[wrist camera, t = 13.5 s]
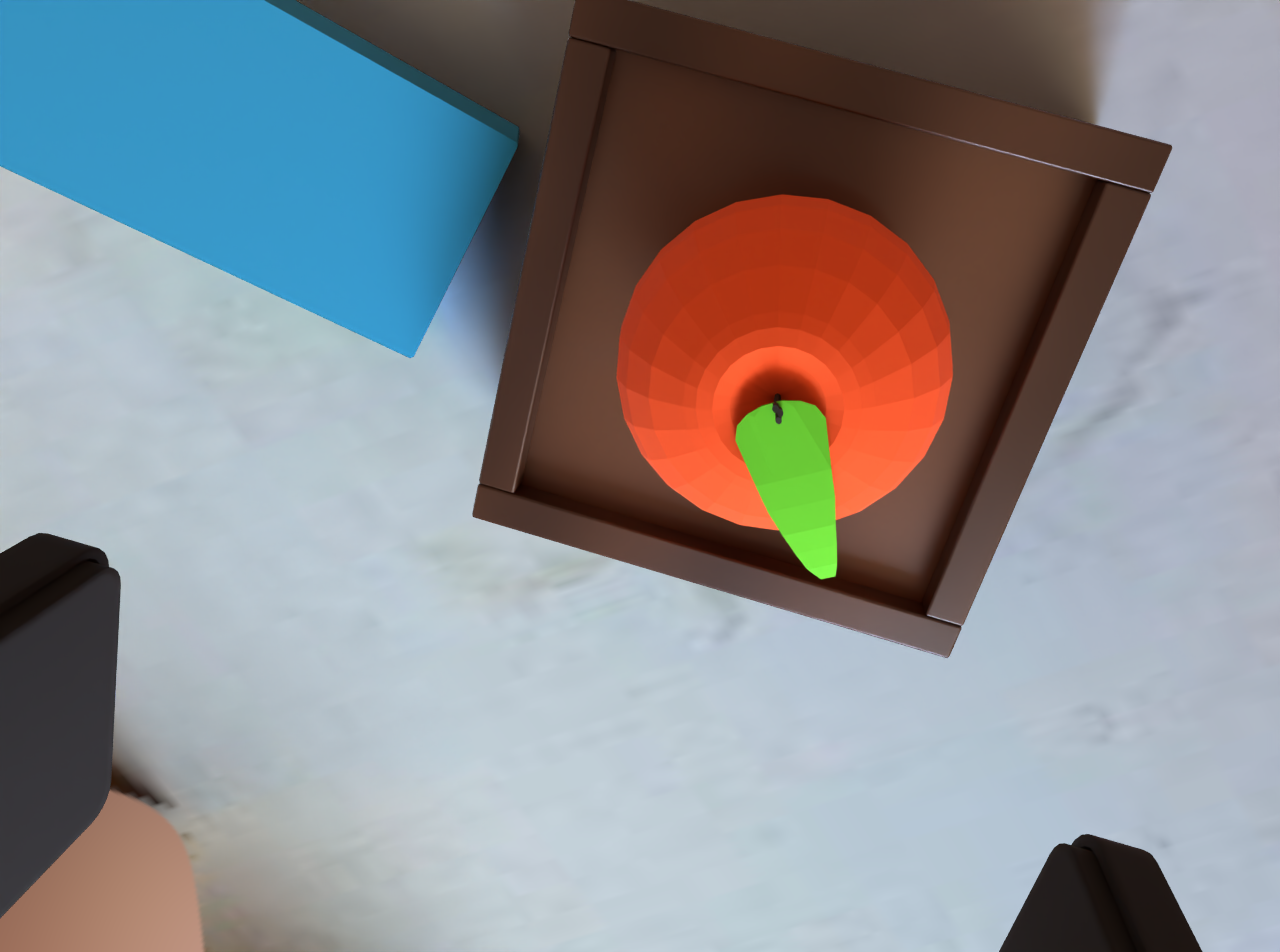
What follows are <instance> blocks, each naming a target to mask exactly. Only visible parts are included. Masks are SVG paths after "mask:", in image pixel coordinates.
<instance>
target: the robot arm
mask: <svg viewBox="0 0 1280 952" xmlns="http://www.w3.org/2000/svg"><path fill="white" fill-rule="evenodd" d="M120 589H121V582H120V576H119V573H118V571H116V570H115V569H114V568H111V567H109V564H108V559H107V557H106V554H105V553H104V552H103V551H102V550H100V549H99V548H96V547H92V546H89V545H85V544H82V543H78V542H75V541H72V540H68V539H65V538H61V537H58V536H54V535H51V534H46V533H38V534H36V535H33V536H30V537H28V538H27V539H25V540H23V541H21V542H19V543H18V544H16V545H14V546H12V547H11V548H9V549H7V550H5V551H4V552H2V553H0V918H1V917H2V916H3V915H4V914H5V913H6V912H7V911H8V910H9V909H10V908H11V906H12V905H14V904H15V902H16V901H17V900H18V899H19V898H20V897H21V896H22V895H23V894H24V893H25V892H26V891H27V890H28V889H29V888H30V887H31V886H32V885H33V884H34V883H35V882H36V881H37V880H38V879H39V878H40V876H41V875H42V874H43V873H44V872H45V871H46V870H47V869H48V868H49V867H50V866H51V865H52V864H53V863H54V862H55V861H56V860H57V859H58V858H59V857H60V856H61V855H62V854H63V853H64V852H65V850H66V849H67V848H68V847H69V846H70V845H71V844H72V843H73V842H74V841H75V840H76V839H77V838H78V837H79V836H80V835H81V834H82V833H83V832H84V831H85V830H86V829H87V828H88V827H89V826H90V824H91V823H92V822H93V821H94V820H95V818H96V817H97V816H98V814H99V813H100V811H101V809H102V808H103V806H104V804H105V801H106V799H107V796H108V793H109V790H110V785H111V771H112V751H113V731H114V710H115V690H116V670H117V650H118V629H119V609H120ZM999 952H1202V950H1201V948H1200V946H1199V944H1198V942H1197V940H1196V938H1195V936H1194V934H1193V932H1192V930H1191V928H1190V926H1189V924H1188V922H1187V920H1186V918H1185V916H1184V914H1183V912H1182V910H1181V909H1180V907H1179V905H1178V903H1177V901H1176V899H1175V897H1174V895H1173V893H1172V891H1171V889H1170V887H1169V885H1168V883H1167V881H1166V879H1165V877H1164V875H1163V873H1162V871H1161V869H1160V867H1159V865H1158V863H1157V862H1156V860H1155V859H1154V857H1153V856H1152V855H1151V854H1150V853H1148V852H1146V851H1145V850H1142V849H1138V848H1135V847H1131V846H1128V845H1124V844H1121V843H1118V842H1114V841H1111V840H1107V839H1104V838H1100V837H1097V836H1093V835H1090V834H1085V835H1081V836H1080V837H1078V838H1077V839H1075V840H1074V842H1073V843H1072V845H1068V844H1065V843H1064V844H1059V845H1057V846H1056V847H1055V848H1054V849H1053V850H1052V852H1051V853H1050V855H1049V857H1048V859H1047V861H1046V863H1045V865H1044V867H1043V868H1042V870H1041V872H1040V874H1039V876H1038V878H1037V880H1036V882H1035V884H1034V886H1033V888H1032V890H1031V891H1030V893H1029V895H1028V897H1027V899H1026V901H1025V903H1024V905H1023V907H1022V909H1021V911H1020V913H1019V914H1018V916H1017V918H1016V920H1015V922H1014V924H1013V926H1012V928H1011V930H1010V932H1009V934H1008V936H1007V937H1006V939H1005V941H1004V943H1003V945H1002V947H1001V949H1000V951H999Z"/></svg>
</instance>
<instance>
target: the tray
mask: <svg viewBox="0 0 1280 952" xmlns="http://www.w3.org/2000/svg"><path fill="white" fill-rule="evenodd" d="M569 36H570V37H571V38H569V39H568V41H567V46H566V51H565V56H564V61H563V66H562V71H561V76H560V81H559V86H558V91H557V96H556V101H555V106H554V111H553V116H552V121H551V126H550V130H549V135H548V140H547V145H546V150H545V155H544V160H543V165H542V170H541V175H540V180H539V185H538V190H537V195H536V200H535V205H534V210H533V215H532V220H531V225H530V230H529V235H528V240H527V245H526V250H525V255H524V260H523V265H522V270H521V275H520V280H519V285H518V290H517V295H516V300H515V305H514V310H513V315H512V320H511V325H510V329H509V334H508V339H507V344H506V349H505V354H504V359H503V364H502V369H501V374H500V379H499V384H498V389H497V394H496V399H495V404H494V409H493V414H492V419H491V424H490V429H489V434H488V439H487V444H486V449H485V454H484V459H483V464H482V469H481V474H480V479H479V481H480V484H479V485H478V488H477V493H476V498H475V503H474V508H473V513H472V514H473V517H475V518H478V519H481V520H485V521H488V522H492V523H495V524H498V525H502V526H505V527H508V528H512V529H515V530H518V531H522V532H525V533H528V534H532V535H535V536H539V537H542V538H545V539H549V540H552V541H555V542H559V543H562V544H565V545H569V546H572V547H576V548H579V549H582V550H586V551H589V552H592V553H596V554H599V555H602V556H606V557H609V558H612V559H616V560H619V561H623V562H626V563H629V564H633V565H636V566H639V567H643V568H646V569H649V570H653V571H656V572H660V573H663V574H666V575H670V576H673V577H676V578H680V579H683V580H686V581H690V582H693V583H696V584H700V585H703V586H707V587H710V588H713V589H717V590H720V591H723V592H727V593H730V594H733V595H737V596H740V597H744V598H747V599H750V600H754V601H757V602H760V603H764V604H767V605H770V606H774V607H777V608H780V609H784V610H787V611H791V612H794V613H797V614H801V615H804V616H807V617H811V618H814V619H817V620H821V621H824V622H828V623H831V624H834V625H838V626H841V627H844V628H848V629H851V630H854V631H858V632H861V633H864V634H868V635H871V636H875V637H878V638H881V639H885V640H888V641H891V642H895V643H898V644H901V645H905V646H908V647H912V648H915V649H918V650H922V651H925V652H928V653H932V654H935V655H938V656H942V657H945V658H948V657H949V656H950V654H951V651H952V649H953V647H954V644H955V642H956V640H957V638H958V635H959V633H960V631H961V626H962V625H963V624H964V622H965V620H966V617H967V615H968V613H969V610H970V608H971V606H972V604H973V601H974V599H975V597H976V594H977V592H978V590H979V588H980V585H981V583H982V581H983V578H984V576H985V574H986V572H987V569H988V567H989V565H990V563H991V560H992V558H993V556H994V553H995V551H996V549H997V547H998V544H999V542H1000V540H1001V537H1002V535H1003V533H1004V531H1005V528H1006V526H1007V524H1008V521H1009V519H1010V517H1011V515H1012V512H1013V510H1014V508H1015V505H1016V503H1017V501H1018V499H1019V496H1020V494H1021V492H1022V489H1023V487H1024V485H1025V483H1026V480H1027V478H1028V476H1029V474H1030V471H1031V469H1032V467H1033V464H1034V462H1035V460H1036V458H1037V455H1038V453H1039V451H1040V448H1041V446H1042V444H1043V442H1044V439H1045V437H1046V435H1047V432H1048V430H1049V428H1050V426H1051V423H1052V421H1053V419H1054V416H1055V414H1056V412H1057V410H1058V407H1059V405H1060V403H1061V400H1062V398H1063V396H1064V394H1065V391H1066V389H1067V387H1068V385H1069V382H1070V380H1071V378H1072V375H1073V373H1074V371H1075V369H1076V366H1077V364H1078V362H1079V359H1080V357H1081V355H1082V353H1083V350H1084V348H1085V346H1086V343H1087V341H1088V339H1089V337H1090V334H1091V332H1092V330H1093V327H1094V325H1095V323H1096V321H1097V318H1098V316H1099V314H1100V311H1101V309H1102V307H1103V305H1104V302H1105V300H1106V298H1107V296H1108V293H1109V291H1110V289H1111V286H1112V284H1113V282H1114V280H1115V277H1116V275H1117V273H1118V270H1119V268H1120V266H1121V264H1122V261H1123V259H1124V257H1125V254H1126V252H1127V250H1128V248H1129V245H1130V243H1131V241H1132V238H1133V236H1134V234H1135V232H1136V229H1137V227H1138V225H1139V222H1140V220H1141V218H1142V216H1143V213H1144V211H1145V209H1146V207H1147V204H1148V202H1149V200H1150V197H1151V194H1150V193H1152V192H1153V191H1154V189H1155V186H1156V184H1157V182H1158V180H1159V177H1160V175H1161V173H1162V170H1163V168H1164V166H1165V164H1166V161H1167V159H1168V157H1169V154H1170V152H1171V150H1172V146H1171V145H1169V144H1166V143H1162V142H1158V141H1154V140H1151V139H1147V138H1143V137H1139V136H1136V135H1132V134H1128V133H1124V132H1121V131H1117V130H1113V129H1109V128H1106V127H1102V126H1098V125H1094V124H1091V123H1087V122H1083V121H1079V120H1076V119H1072V118H1068V117H1064V116H1061V115H1057V114H1053V113H1049V112H1046V111H1042V110H1038V109H1034V108H1031V107H1027V106H1023V105H1019V104H1016V103H1012V102H1008V101H1004V100H1001V99H997V98H993V97H989V96H986V95H982V94H978V93H974V92H971V91H967V90H963V89H959V88H956V87H952V86H948V85H944V84H941V83H937V82H933V81H929V80H926V79H922V78H918V77H915V76H911V75H907V74H903V73H900V72H896V71H892V70H888V69H885V68H881V67H877V66H873V65H870V64H866V63H862V62H858V61H855V60H851V59H847V58H843V57H840V56H836V55H832V54H828V53H825V52H821V51H817V50H813V49H810V48H806V47H802V46H798V45H795V44H791V43H787V42H783V41H780V40H776V39H772V38H768V37H765V36H761V35H757V34H753V33H750V32H746V31H742V30H738V29H735V28H731V27H727V26H723V25H720V24H716V23H712V22H708V21H705V20H701V19H697V18H693V17H690V16H686V15H682V14H678V13H675V12H671V11H667V10H663V9H660V8H656V7H652V6H648V5H645V4H641V3H637V2H634V1H630V0H575V5H574V10H573V15H572V20H571V25H570V29H569ZM781 194H783V195H793V196H803V197H813V198H823V199H829V200H832V201H834V202H837V203H839V204H842V205H845V206H847V207H850V208H852V209H855V210H857V211H860V212H862V213H865V214H867V215H870V216H872V217H873V218H874V219H876V220H877V221H878V222H880V223H881V224H882V225H884V226H885V227H886V228H888V229H889V230H890V231H892V232H893V233H894V234H895V235H897V236H898V237H899V238H901V239H902V240H903V241H905V242H906V243H907V244H908V245H909V246H910V248H911V249H912V251H913V252H914V253H915V255H916V256H917V257H918V259H919V260H920V261H921V263H922V264H923V265H924V267H925V268H926V269H927V271H928V272H929V273H930V275H931V276H932V278H933V279H934V281H935V283H936V286H937V289H938V292H939V294H940V297H941V300H942V302H943V305H944V308H945V310H946V313H947V316H948V319H949V322H950V336H951V349H952V363H953V378H952V383H951V388H950V392H949V397H948V402H947V407H946V411H945V416H944V419H943V421H942V423H941V425H940V427H939V429H938V431H937V433H936V435H935V437H934V439H933V441H932V443H931V445H930V447H929V449H928V451H927V452H926V454H925V456H924V458H923V459H922V460H921V461H920V462H919V463H918V464H917V465H916V466H915V467H914V469H913V470H912V471H911V472H910V473H909V474H908V475H907V476H906V477H905V478H904V480H903V481H902V482H901V483H900V484H899V485H898V486H897V487H896V488H895V489H894V490H892V491H891V492H889V493H888V494H886V495H885V496H883V497H882V498H880V499H879V500H877V501H875V502H874V503H872V504H871V505H869V506H868V507H866V508H865V509H863V510H862V511H860V512H857V513H855V514H852V515H849V516H846V517H843V518H840V519H838V520H836V539H837V569H836V576H835V577H830V578H825V579H820V578H818V577H817V576H816V575H814V574H813V573H811V572H810V571H809V570H807V568H806V567H805V566H804V565H803V563H802V562H801V561H800V560H799V558H798V557H797V556H796V554H795V553H794V552H793V550H792V549H791V547H790V546H789V544H788V543H787V541H786V540H785V538H784V537H783V536H782V534H781V532H780V531H779V530H772V529H765V528H758V527H751V526H744V525H739V524H736V523H734V522H731V521H729V520H726V519H724V518H721V517H719V516H716V515H714V514H711V513H709V512H706V511H704V510H702V509H700V508H699V507H697V506H696V505H695V504H693V503H692V502H690V501H689V500H688V499H686V498H685V497H683V496H682V495H681V494H679V493H678V492H676V491H675V490H674V489H672V488H671V487H669V486H668V485H667V484H666V483H665V482H664V480H663V479H662V478H661V477H660V476H659V474H658V473H657V472H656V471H655V470H654V469H653V467H652V466H651V465H650V464H649V463H648V461H647V460H646V459H645V458H644V457H643V456H642V454H641V452H640V450H639V448H638V446H637V444H636V442H635V440H634V438H633V436H632V433H631V431H630V429H629V427H628V425H627V423H626V421H625V419H624V415H623V410H622V405H621V399H620V394H619V389H618V383H617V378H616V376H617V363H618V351H619V338H620V331H621V326H622V323H623V320H624V317H625V314H626V312H627V309H628V306H629V303H630V300H631V298H632V295H633V292H634V289H635V287H636V285H637V283H638V282H639V280H640V279H641V277H642V276H643V275H644V273H645V272H646V270H647V269H648V267H649V266H650V265H651V263H652V262H653V260H654V259H655V257H656V256H657V254H658V253H659V252H660V250H661V249H662V248H664V247H665V246H666V245H667V244H668V243H669V242H671V241H672V240H673V239H674V238H675V237H677V236H678V235H679V234H680V233H681V232H683V231H684V230H685V229H686V228H687V227H689V226H690V225H691V224H692V223H693V222H695V221H696V220H699V219H701V218H703V217H705V216H707V215H709V214H712V213H714V212H716V211H718V210H720V209H722V208H725V207H727V206H729V205H731V204H733V203H735V202H740V201H746V200H751V199H757V198H763V197H769V196H775V195H781Z"/></svg>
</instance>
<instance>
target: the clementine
mask: <svg viewBox="0 0 1280 952" xmlns="http://www.w3.org/2000/svg"><path fill="white" fill-rule="evenodd" d="M616 378H617V383H618V389H619V394H620V399H621V405H622V410H623V415H624V419H625V421H626V423H627V425H628V427H629V429H630V431H631V433H632V436H633V438H634V440H635V442H636V444H637V446H638V448H639V450H640V452H641V454H642V456H643V457H644V458H645V459H646V460H647V461H648V463H649V464H650V465H651V466H652V467H653V469H654V470H655V471H656V472H657V473H658V474H659V476H660V477H661V478H662V479H663V480H664V482H665V483H666V484H667V485H668V486H669V487H671V488H672V489H674V490H675V491H676V492H678V493H679V494H681V495H682V496H683V497H685V498H686V499H688V500H689V501H690V502H692V503H693V504H695V505H696V506H697V507H699V508H700V509H702V510H704V511H706V512H709V513H711V514H714V515H716V516H719V517H721V518H724V519H726V520H729V521H731V522H734V523H736V524H739V525H744V526H751V527H758V528H765V529H772V530H779V531H780V532H781V534H782V536H783V537H784V538H785V540H786V541H787V543H788V544H789V546H790V547H791V549H792V550H793V552H794V553H795V554H796V556H797V557H798V558H799V560H800V561H801V562H802V563H803V565H804V566H805V567H806V568H807V570H809V571H810V572H811V573H813V574H814V575H816V576H817V577H818V578H820V579H825V578H830V577H835V576H836V569H837V539H836V520H838V519H840V518H843V517H846V516H849V515H852V514H855V513H857V512H860V511H862V510H863V509H865V508H866V507H868V506H869V505H871V504H872V503H874V502H875V501H877V500H879V499H880V498H882V497H883V496H885V495H886V494H888V493H889V492H891V491H892V490H894V489H895V488H896V487H897V486H898V485H899V484H900V483H901V482H902V481H903V480H904V478H905V477H906V476H907V475H908V474H909V473H910V472H911V471H912V470H913V469H914V467H915V466H916V465H917V464H918V463H919V462H920V461H921V460H922V459H923V458H924V456H925V454H926V452H927V451H928V449H929V447H930V445H931V443H932V441H933V439H934V437H935V435H936V433H937V431H938V429H939V427H940V425H941V423H942V421H943V419H944V416H945V411H946V407H947V402H948V397H949V392H950V388H951V383H952V378H953V363H952V349H951V336H950V322H949V319H948V316H947V313H946V310H945V308H944V305H943V302H942V300H941V297H940V294H939V292H938V289H937V286H936V283H935V281H934V279H933V278H932V276H931V275H930V273H929V272H928V271H927V269H926V268H925V267H924V265H923V264H922V263H921V261H920V260H919V259H918V257H917V256H916V255H915V253H914V252H913V251H912V249H911V248H910V246H909V245H908V244H907V243H906V242H905V241H903V240H902V239H901V238H899V237H898V236H897V235H895V234H894V233H893V232H892V231H890V230H889V229H888V228H886V227H885V226H884V225H882V224H881V223H880V222H878V221H877V220H876V219H874V218H873V217H872V216H870V215H867V214H865V213H862V212H860V211H857V210H855V209H852V208H850V207H847V206H845V205H842V204H839V203H837V202H834V201H832V200H829V199H823V198H813V197H803V196H793V195H783V194H781V195H775V196H769V197H763V198H757V199H751V200H746V201H740V202H735V203H733V204H731V205H729V206H727V207H725V208H722V209H720V210H718V211H716V212H714V213H712V214H709V215H707V216H705V217H703V218H701V219H699V220H696V221H695V222H693V223H692V224H691V225H690V226H689V227H687V228H686V229H685V230H684V231H683V232H681V233H680V234H679V235H678V236H677V237H675V238H674V239H673V240H672V241H671V242H669V243H668V244H667V245H666V246H665V247H664V248H662V249H661V250H660V252H659V253H658V254H657V256H656V257H655V259H654V260H653V262H652V263H651V265H650V266H649V267H648V269H647V270H646V272H645V273H644V275H643V276H642V277H641V279H640V280H639V282H638V283H637V285H636V287H635V289H634V292H633V295H632V298H631V300H630V303H629V306H628V309H627V312H626V314H625V317H624V320H623V323H622V326H621V331H620V338H619V351H618V363H617V376H616Z"/></svg>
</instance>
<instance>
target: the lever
mask: <svg viewBox="0 0 1280 952" xmlns="http://www.w3.org/2000/svg"><path fill="white" fill-rule="evenodd" d="M518 140H519V127H518V126H516V125H514V124H512V123H511V122H509V121H507V120H505V119H504V118H502V117H500V116H498V115H496V114H495V113H493V112H491V111H489V110H488V109H486V108H484V107H482V106H481V105H479V104H477V103H475V102H474V101H472V100H470V99H468V98H467V97H465V96H463V95H461V94H459V93H458V92H456V91H454V90H452V89H451V88H449V87H447V86H445V85H444V84H442V83H440V82H438V81H437V80H435V79H433V78H431V77H430V76H428V75H426V74H424V73H422V72H421V71H419V70H417V69H415V68H414V67H412V66H410V65H408V64H407V63H405V62H403V61H401V60H400V59H398V58H396V57H394V56H392V55H391V54H389V53H387V52H385V51H384V50H382V49H380V48H378V47H377V46H375V45H373V44H371V43H370V42H368V41H366V40H364V39H363V38H361V37H359V36H357V35H355V34H354V33H352V32H350V31H348V30H347V29H345V28H343V27H341V26H340V25H338V24H336V23H334V22H333V21H331V20H329V19H327V18H326V17H324V16H322V15H320V14H318V13H317V12H315V11H313V10H311V9H310V8H308V7H306V6H304V5H303V4H301V3H299V2H297V1H296V0H0V166H1V167H3V168H5V169H7V170H10V171H12V172H14V173H16V174H18V175H20V176H22V177H24V178H27V179H29V180H31V181H33V182H35V183H37V184H39V185H42V186H44V187H46V188H48V189H50V190H52V191H54V192H56V193H59V194H61V195H63V196H65V197H67V198H69V199H71V200H74V201H76V202H78V203H80V204H82V205H84V206H86V207H88V208H91V209H93V210H95V211H97V212H99V213H101V214H103V215H106V216H108V217H110V218H112V219H114V220H116V221H118V222H120V223H123V224H125V225H127V226H129V227H131V228H133V229H135V230H138V231H140V232H142V233H144V234H146V235H148V236H150V237H153V238H155V239H157V240H159V241H161V242H163V243H165V244H167V245H170V246H172V247H174V248H176V249H178V250H180V251H182V252H185V253H187V254H189V255H191V256H193V257H195V258H197V259H199V260H202V261H204V262H206V263H208V264H210V265H212V266H214V267H217V268H219V269H221V270H223V271H225V272H227V273H229V274H231V275H234V276H236V277H238V278H240V279H242V280H244V281H246V282H249V283H251V284H253V285H255V286H257V287H259V288H261V289H263V290H266V291H268V292H270V293H272V294H274V295H276V296H278V297H281V298H283V299H285V300H287V301H289V302H291V303H293V304H296V305H298V306H300V307H302V308H304V309H306V310H308V311H310V312H313V313H315V314H317V315H319V316H321V317H323V318H325V319H328V320H330V321H332V322H334V323H336V324H338V325H340V326H342V327H345V328H347V329H349V330H351V331H353V332H355V333H357V334H360V335H362V336H364V337H366V338H368V339H370V340H372V341H374V342H377V343H379V344H381V345H383V346H385V347H387V348H389V349H392V350H394V351H396V352H398V353H400V354H402V355H404V356H406V357H409V358H411V357H414V355H415V353H416V351H417V349H418V347H419V345H420V343H421V341H422V339H423V337H424V335H425V333H426V331H427V329H428V327H429V325H430V323H431V321H432V319H433V317H434V315H435V313H436V311H437V309H438V306H439V304H440V302H441V300H442V298H443V296H444V294H445V292H446V290H447V288H448V286H449V284H450V282H451V280H452V278H453V276H454V274H455V272H456V270H457V268H458V266H459V264H460V262H461V260H462V258H463V256H464V254H465V252H466V250H467V248H468V246H469V244H470V242H471V240H472V238H473V236H474V234H475V232H476V230H477V228H478V226H479V224H480V222H481V220H482V218H483V216H484V214H485V212H486V210H487V208H488V206H489V204H490V202H491V200H492V198H493V196H494V194H495V192H496V190H497V188H498V186H499V184H500V182H501V180H502V177H503V175H504V173H505V171H506V169H507V167H508V165H509V163H510V161H511V159H512V157H513V155H514V153H515V151H516V149H517V147H518Z"/></svg>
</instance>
